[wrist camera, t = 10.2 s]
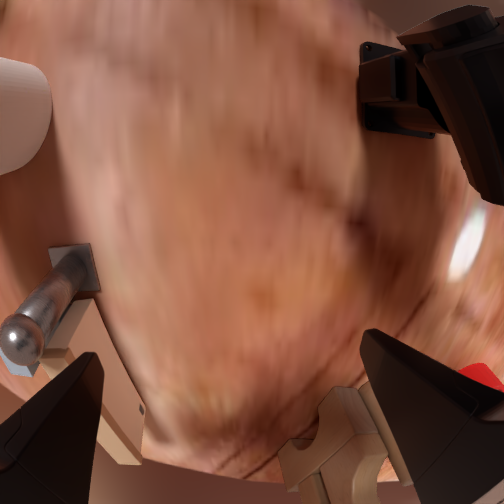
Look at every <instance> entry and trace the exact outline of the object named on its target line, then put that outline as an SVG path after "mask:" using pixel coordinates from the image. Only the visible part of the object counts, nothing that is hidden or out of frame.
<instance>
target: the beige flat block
mask: <svg viewBox="0 0 504 504" xmlns="http://www.w3.org/2000/svg"><path fill="white" fill-rule="evenodd" d="M84 352H96V353H97V355H98V357H99V359H100V362H101V364H102V366H103V369H104V373H105V377H104V386H103V397H102V409H101V417H100V422H99V428H98V434H97V439H96V440H97V441H98V442H99V443H100V444H101V445H102V446H103V447H104V449H105V450H106V451H107V452H108V453H109V454H110V455H111V456H112V457H113V458H114V459H115V460H116V461H117V463H119V464H129V465H142V455H141V444H142V436H143V427H144V419H145V412H146V407H145V405H144V403H143V402H142V400H141V398H140V396H139V394H138V393H137V391H136V389H135V387H134V385H133V383H132V382H131V380H130V378H129V376H128V374H127V372H126V370H125V368H124V366H123V364H122V362H121V360H120V358H119V356H118V354H117V352H116V350H115V348H114V346H113V343H112V341H111V339H110V337H109V335H108V332H107V330H106V328H105V326H104V323H103V321H102V319H101V316H100V314H99V311H98V309H97V307H96V304H95V302H94V299H93V298H92V299H84V300H77V301H74V302H73V303H72V305H71V307H70V308H69V310H68V311H67V313H66V315H65V316H64V318H63V319H62V321H61V323H60V324H59V326H58V328H57V329H56V331H55V333H54V335H53V336H52V338H51V340H50V342H49V343H48V345H47V347H46V349H44V352H43V354H42V356H41V358H40V359H39V362H40V363H41V365H42V366H43V368H44V370H45V371H46V373H47V374H48V376H49V377H50V379H51V380H52V379H53V378H54V377H56V376H57V375H58V374H59V373H60V372H61V371H63V370H64V369H65V368H66V367H67V366H68V365H70V364H71V363H72V362H73V361H74V360H75V359H77V358H78V357H79V356H80V355H81V354H83V353H84Z"/></svg>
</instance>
